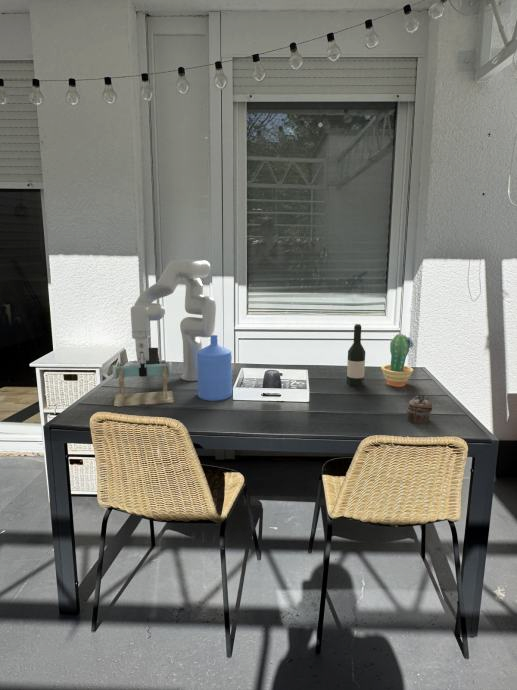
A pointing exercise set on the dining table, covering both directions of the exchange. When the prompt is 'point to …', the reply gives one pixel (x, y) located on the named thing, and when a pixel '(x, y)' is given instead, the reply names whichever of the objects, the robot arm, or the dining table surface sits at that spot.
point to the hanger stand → (142, 398)
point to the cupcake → (419, 409)
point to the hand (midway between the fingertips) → (143, 374)
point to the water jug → (214, 372)
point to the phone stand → (153, 356)
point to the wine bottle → (356, 360)
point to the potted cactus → (398, 361)
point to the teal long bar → (134, 370)
